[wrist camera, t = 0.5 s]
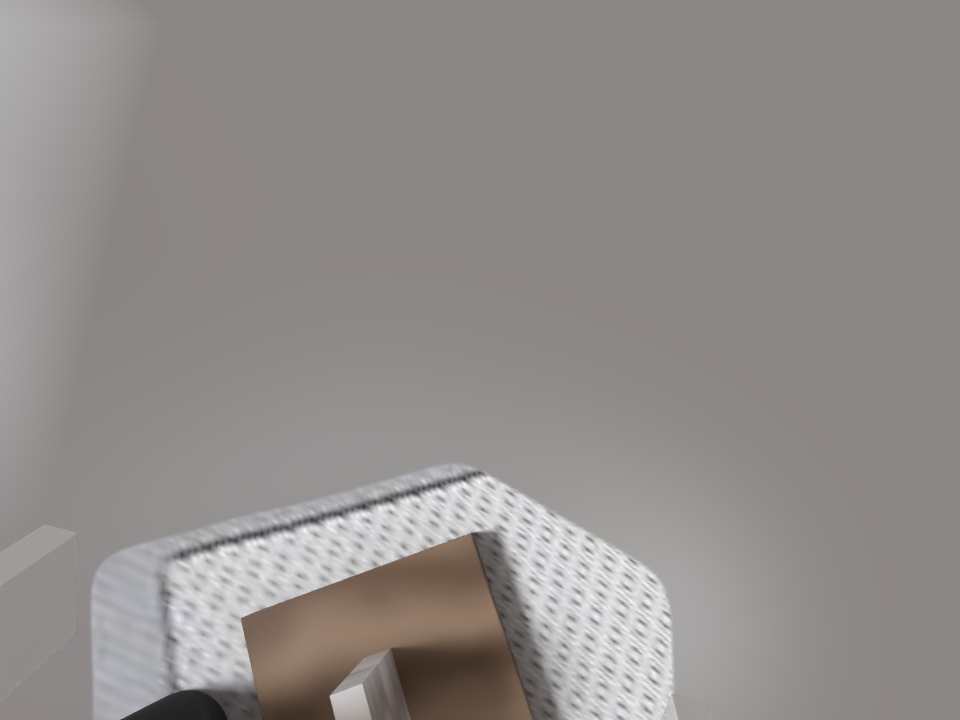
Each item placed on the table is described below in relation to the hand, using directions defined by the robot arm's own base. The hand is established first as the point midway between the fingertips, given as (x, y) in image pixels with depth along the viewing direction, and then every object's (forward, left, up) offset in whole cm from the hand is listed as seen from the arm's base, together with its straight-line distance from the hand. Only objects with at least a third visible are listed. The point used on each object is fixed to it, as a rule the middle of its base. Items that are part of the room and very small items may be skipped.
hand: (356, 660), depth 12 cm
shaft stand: (-7, +8, -32) cm, 34 cm away
